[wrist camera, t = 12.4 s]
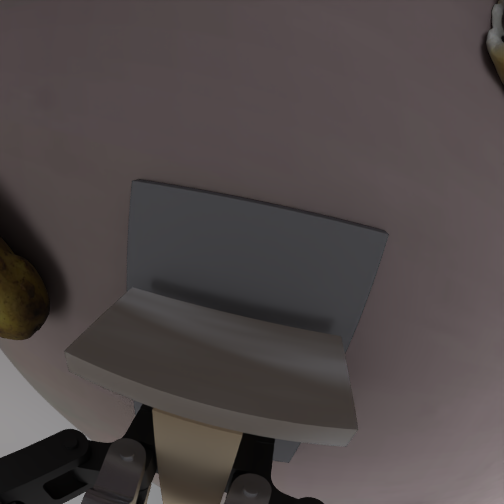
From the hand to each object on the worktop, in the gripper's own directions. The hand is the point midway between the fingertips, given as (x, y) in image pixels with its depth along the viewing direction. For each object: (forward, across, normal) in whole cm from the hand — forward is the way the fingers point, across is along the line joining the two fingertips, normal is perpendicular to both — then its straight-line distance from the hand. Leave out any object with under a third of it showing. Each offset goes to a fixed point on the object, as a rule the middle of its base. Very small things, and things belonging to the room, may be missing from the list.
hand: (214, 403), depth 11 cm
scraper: (+1, 0, +2) cm, 2 cm away
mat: (+3, 0, 0) cm, 3 cm away
